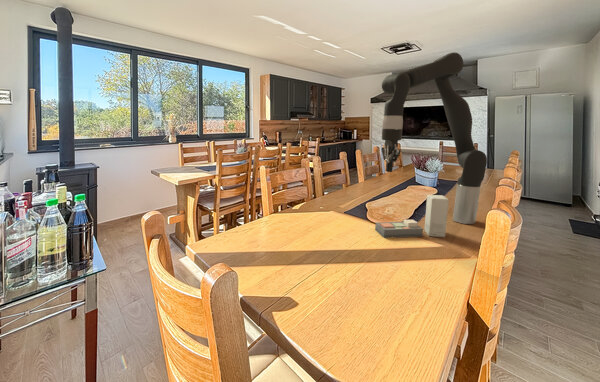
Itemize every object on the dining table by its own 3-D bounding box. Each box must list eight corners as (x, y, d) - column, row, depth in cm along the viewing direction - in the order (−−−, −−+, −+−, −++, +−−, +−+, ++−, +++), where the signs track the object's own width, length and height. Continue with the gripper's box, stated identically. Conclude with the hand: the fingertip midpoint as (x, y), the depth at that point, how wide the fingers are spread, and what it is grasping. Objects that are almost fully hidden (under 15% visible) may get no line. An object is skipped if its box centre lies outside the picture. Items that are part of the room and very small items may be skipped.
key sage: (400, 227, 119) (401, 222, 119) (405, 230, 115) (405, 226, 115) (391, 227, 119) (391, 223, 118) (395, 231, 115) (396, 226, 115)
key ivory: (412, 224, 120) (412, 219, 119) (417, 227, 116) (417, 222, 115) (403, 224, 119) (403, 219, 119) (407, 227, 115) (408, 222, 115)
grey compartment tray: (410, 228, 123) (411, 221, 122) (422, 236, 114) (423, 228, 113) (375, 229, 121) (375, 222, 120) (383, 237, 112) (384, 229, 111)
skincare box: (445, 237, 113) (450, 199, 110) (427, 236, 114) (431, 198, 111) (439, 230, 121) (443, 194, 118) (422, 229, 122) (426, 193, 119)
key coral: (389, 227, 119) (389, 223, 118) (393, 231, 115) (393, 226, 114) (380, 227, 118) (380, 223, 118) (384, 231, 114) (384, 226, 114)
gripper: (376, 127, 118) (373, 169, 122) (390, 127, 105) (387, 174, 109) (393, 128, 119) (390, 169, 123) (409, 128, 106) (405, 174, 110)
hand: (388, 171), depth 116 cm, fingers closed
